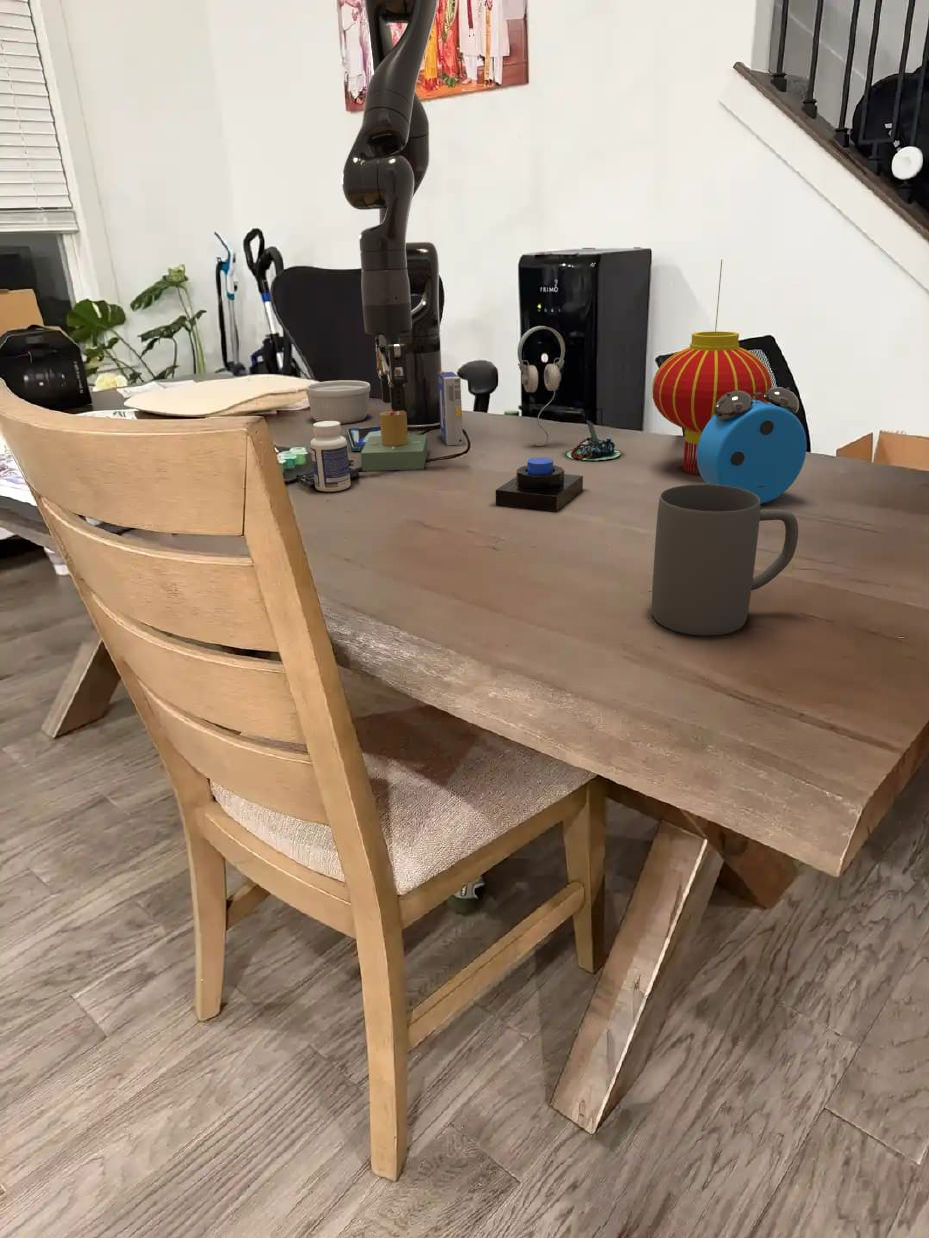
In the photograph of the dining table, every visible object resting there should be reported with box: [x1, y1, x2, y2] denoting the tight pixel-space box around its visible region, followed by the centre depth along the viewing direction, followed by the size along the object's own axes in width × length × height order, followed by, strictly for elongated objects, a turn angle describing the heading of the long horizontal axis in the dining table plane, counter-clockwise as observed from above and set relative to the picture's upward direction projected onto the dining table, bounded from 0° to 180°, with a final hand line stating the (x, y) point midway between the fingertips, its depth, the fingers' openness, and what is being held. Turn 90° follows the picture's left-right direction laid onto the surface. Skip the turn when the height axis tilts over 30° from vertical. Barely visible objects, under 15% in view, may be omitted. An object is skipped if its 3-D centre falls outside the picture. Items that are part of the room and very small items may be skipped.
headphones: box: [517, 325, 566, 447], centre depth 144 cm, size 8×4×20 cm, turn 105°
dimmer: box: [360, 434, 429, 472], centre depth 141 cm, size 12×10×3 cm
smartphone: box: [346, 425, 381, 452], centre depth 156 cm, size 7×1×15 cm
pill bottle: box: [310, 421, 351, 493], centre depth 126 cm, size 5×5×10 cm
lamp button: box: [526, 457, 554, 474], centre depth 118 cm, size 4×4×2 cm
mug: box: [651, 483, 799, 637], centre depth 80 cm, size 14×9×12 cm
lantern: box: [651, 259, 773, 475], centre depth 124 cm, size 17×17×30 cm
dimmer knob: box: [379, 409, 409, 446], centre depth 140 cm, size 4×4×5 cm
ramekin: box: [305, 379, 371, 425], centre depth 175 cm, size 13×13×7 cm
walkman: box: [438, 370, 464, 446], centre depth 152 cm, size 8×3×12 cm, turn 11°
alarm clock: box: [696, 386, 808, 505], centre depth 112 cm, size 13×6×15 cm, turn 104°
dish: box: [566, 419, 622, 461], centre depth 141 cm, size 8×7×8 cm
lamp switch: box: [495, 464, 584, 512], centre depth 119 cm, size 11×9×4 cm
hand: (393, 406), depth 138 cm, fingers open, 8 cm apart
